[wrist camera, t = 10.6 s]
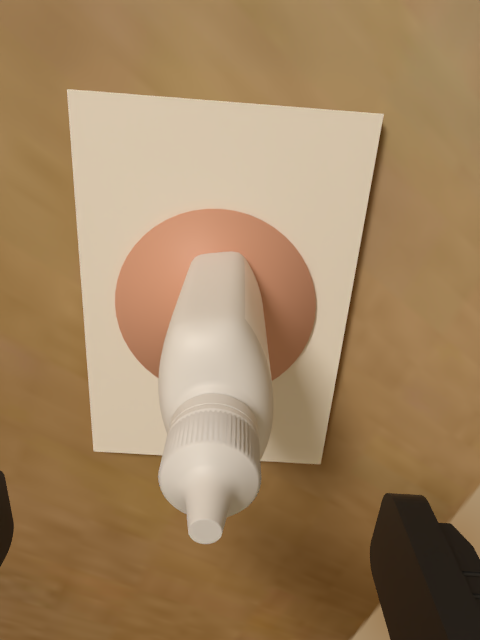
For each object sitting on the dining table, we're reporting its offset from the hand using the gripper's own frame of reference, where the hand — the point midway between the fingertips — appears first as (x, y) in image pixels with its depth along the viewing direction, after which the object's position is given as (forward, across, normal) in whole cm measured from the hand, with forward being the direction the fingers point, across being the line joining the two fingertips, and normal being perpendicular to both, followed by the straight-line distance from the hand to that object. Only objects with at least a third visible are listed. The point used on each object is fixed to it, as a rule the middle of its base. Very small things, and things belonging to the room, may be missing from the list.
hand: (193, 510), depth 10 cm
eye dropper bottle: (+12, 0, 0) cm, 12 cm away
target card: (+12, 0, 0) cm, 12 cm away
